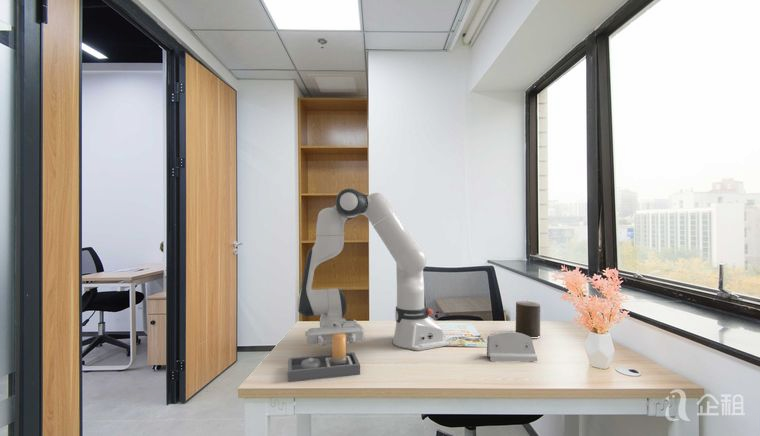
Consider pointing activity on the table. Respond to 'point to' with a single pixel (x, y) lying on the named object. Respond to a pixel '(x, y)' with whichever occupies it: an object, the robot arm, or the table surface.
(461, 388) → the table surface
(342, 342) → the wooden handle stamp
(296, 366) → the dark grey sorting tray
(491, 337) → the hinge
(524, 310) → the pillar candle
